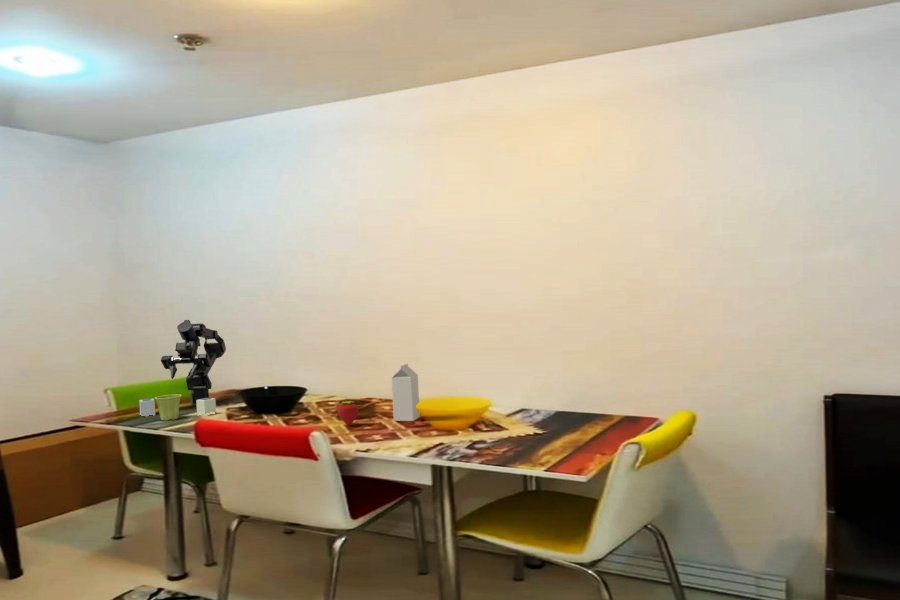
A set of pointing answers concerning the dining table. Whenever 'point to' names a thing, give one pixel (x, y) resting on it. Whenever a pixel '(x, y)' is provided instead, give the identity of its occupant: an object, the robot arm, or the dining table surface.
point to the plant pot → (168, 406)
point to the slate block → (147, 407)
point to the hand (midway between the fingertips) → (181, 377)
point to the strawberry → (348, 412)
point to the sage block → (205, 406)
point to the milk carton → (405, 394)
